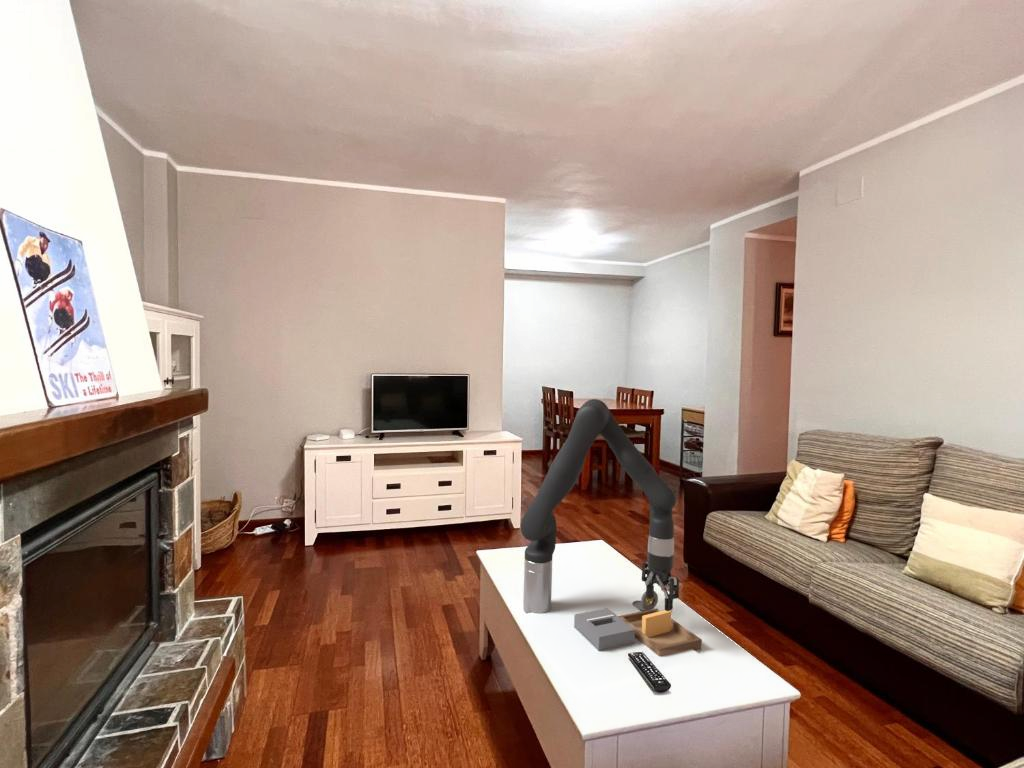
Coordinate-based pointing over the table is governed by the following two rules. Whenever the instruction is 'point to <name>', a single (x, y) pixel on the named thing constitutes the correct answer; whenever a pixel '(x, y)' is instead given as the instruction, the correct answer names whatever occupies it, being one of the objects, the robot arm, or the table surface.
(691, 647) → the tray
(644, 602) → the pocket watch
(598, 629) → the dispenser
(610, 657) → the table surface
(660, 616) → the yellow rectangular block
